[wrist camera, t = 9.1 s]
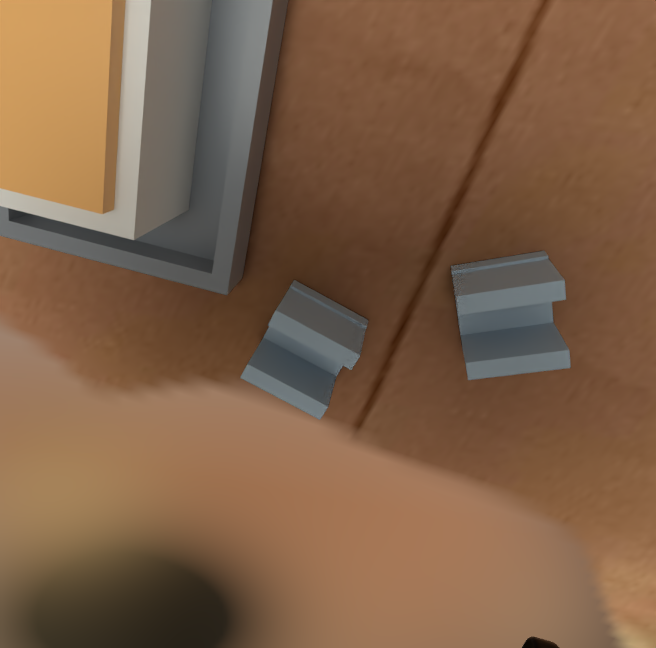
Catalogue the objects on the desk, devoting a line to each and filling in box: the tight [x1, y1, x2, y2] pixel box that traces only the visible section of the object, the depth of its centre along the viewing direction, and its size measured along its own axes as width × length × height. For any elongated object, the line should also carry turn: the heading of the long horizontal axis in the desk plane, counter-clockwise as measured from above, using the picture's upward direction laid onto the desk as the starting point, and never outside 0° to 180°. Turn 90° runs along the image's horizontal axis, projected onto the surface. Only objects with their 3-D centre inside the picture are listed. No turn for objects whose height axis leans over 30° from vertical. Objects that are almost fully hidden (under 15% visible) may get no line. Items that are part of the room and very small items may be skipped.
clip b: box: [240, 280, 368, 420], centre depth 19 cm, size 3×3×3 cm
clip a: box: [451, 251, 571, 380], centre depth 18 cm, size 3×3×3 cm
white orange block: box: [0, 0, 212, 240], centre depth 15 cm, size 4×7×5 cm, turn 168°
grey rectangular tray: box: [0, 0, 288, 295], centre depth 17 cm, size 8×11×2 cm
